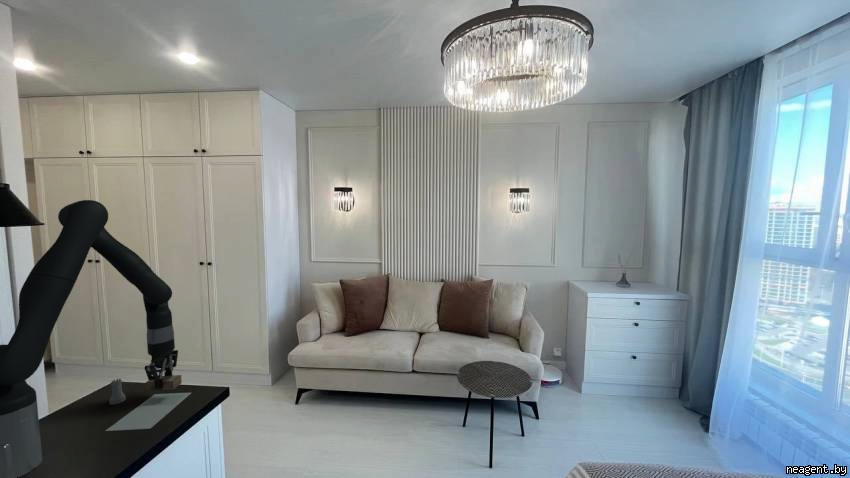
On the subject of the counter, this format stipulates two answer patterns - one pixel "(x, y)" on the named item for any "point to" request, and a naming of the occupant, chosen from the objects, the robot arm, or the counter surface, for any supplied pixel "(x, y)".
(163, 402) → the grey mat
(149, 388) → the brown rectangular block
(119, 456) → the counter surface
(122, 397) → the rook chess piece
